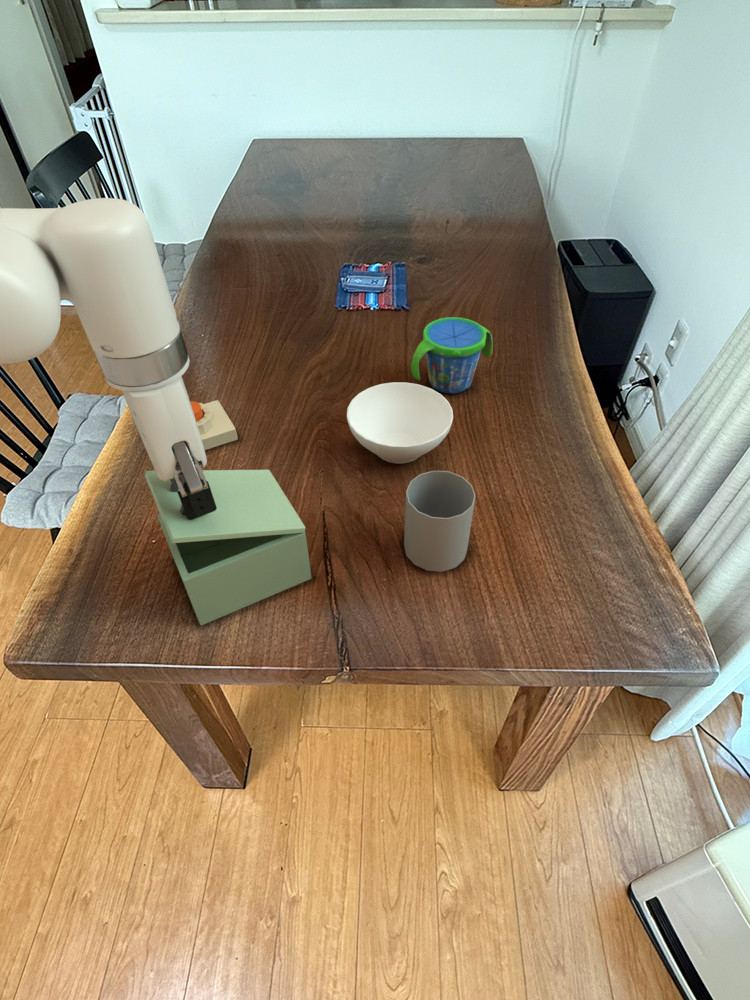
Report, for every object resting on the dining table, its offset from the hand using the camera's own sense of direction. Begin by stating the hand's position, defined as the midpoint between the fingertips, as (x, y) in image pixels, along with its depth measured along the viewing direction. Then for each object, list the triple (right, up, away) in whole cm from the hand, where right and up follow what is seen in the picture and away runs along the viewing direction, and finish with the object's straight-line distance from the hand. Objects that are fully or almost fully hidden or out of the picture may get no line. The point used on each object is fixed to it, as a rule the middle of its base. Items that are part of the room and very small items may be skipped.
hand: (194, 495), depth 66 cm
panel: (-9, +10, +31) cm, 34 cm away
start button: (-9, +13, +29) cm, 33 cm away
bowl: (+24, +8, +28) cm, 38 cm away
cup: (+28, -7, +14) cm, 32 cm away
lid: (+3, -1, +3) cm, 4 cm away
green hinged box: (+3, -9, +12) cm, 15 cm away
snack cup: (+33, +20, +41) cm, 57 cm away
